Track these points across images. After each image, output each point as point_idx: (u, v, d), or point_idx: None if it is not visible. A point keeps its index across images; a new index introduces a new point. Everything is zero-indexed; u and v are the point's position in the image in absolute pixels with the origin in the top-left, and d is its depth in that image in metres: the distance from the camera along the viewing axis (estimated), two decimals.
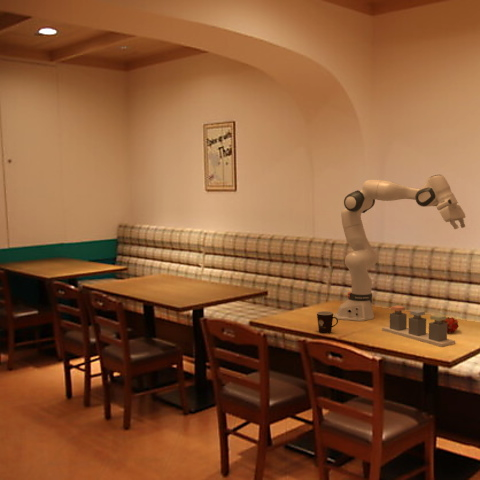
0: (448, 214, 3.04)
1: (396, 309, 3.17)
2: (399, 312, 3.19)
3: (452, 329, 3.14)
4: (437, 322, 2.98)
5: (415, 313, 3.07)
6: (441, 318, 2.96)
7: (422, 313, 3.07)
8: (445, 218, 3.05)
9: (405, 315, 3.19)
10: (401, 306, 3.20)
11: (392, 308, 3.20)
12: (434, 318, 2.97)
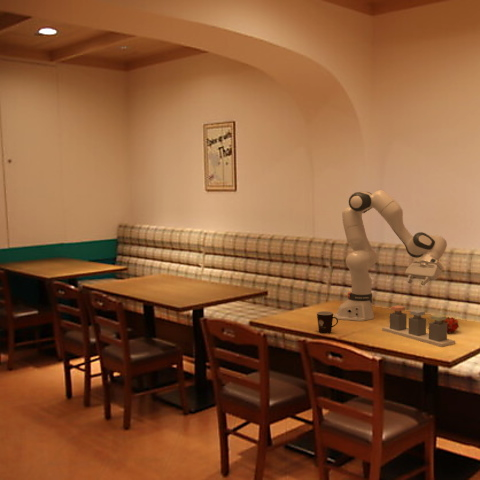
0: (438, 275, 3.18)
1: (396, 309, 3.17)
2: (399, 312, 3.19)
3: (452, 329, 3.14)
4: (437, 322, 2.98)
5: (415, 313, 3.07)
6: (441, 318, 2.96)
7: (422, 313, 3.07)
8: (435, 274, 3.17)
9: (405, 315, 3.19)
10: (401, 306, 3.20)
11: (392, 308, 3.20)
12: (434, 318, 2.97)
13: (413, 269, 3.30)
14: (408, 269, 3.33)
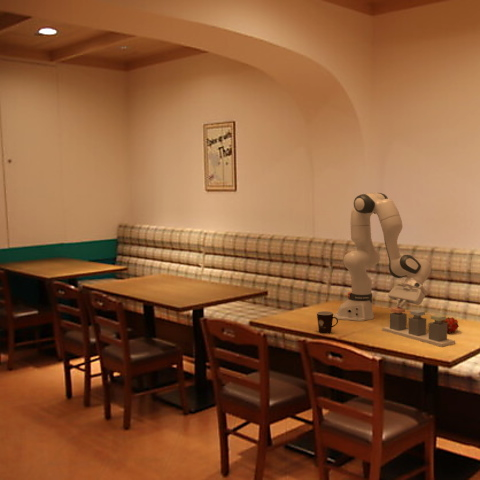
0: (422, 300, 3.14)
1: (396, 311, 3.17)
2: (399, 314, 3.19)
3: (452, 329, 3.14)
4: (437, 322, 2.98)
5: (415, 313, 3.07)
6: (441, 318, 2.96)
7: (422, 313, 3.07)
8: (419, 299, 3.13)
9: (405, 315, 3.19)
10: None
11: (392, 310, 3.20)
12: (434, 318, 2.97)
13: (396, 292, 3.25)
14: (391, 291, 3.28)
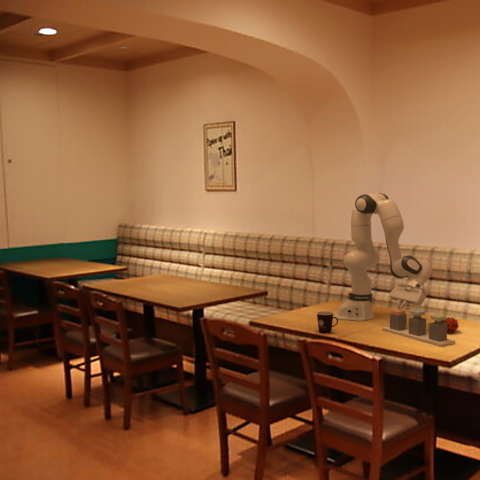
0: (422, 301, 3.15)
1: (396, 313, 3.18)
2: None
3: (452, 329, 3.14)
4: (437, 322, 2.98)
5: (415, 313, 3.07)
6: (441, 318, 2.96)
7: (422, 313, 3.07)
8: (419, 300, 3.13)
9: (405, 315, 3.19)
10: (401, 310, 3.21)
11: (392, 312, 3.20)
12: (434, 318, 2.97)
13: (397, 293, 3.26)
14: (392, 292, 3.29)
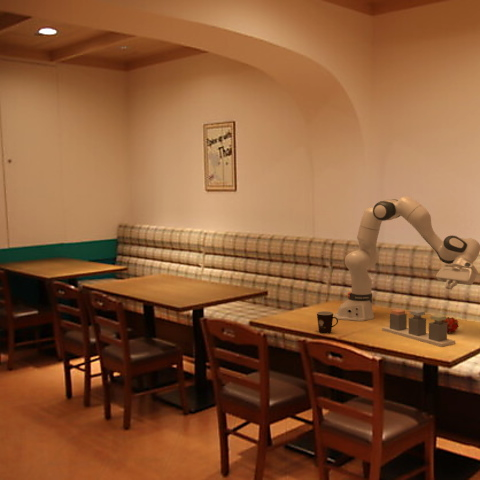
0: (473, 280, 3.01)
1: (396, 313, 3.18)
2: None
3: (452, 329, 3.14)
4: (437, 322, 2.98)
5: (415, 313, 3.07)
6: (441, 318, 2.96)
7: (422, 313, 3.07)
8: (470, 279, 3.00)
9: (405, 315, 3.19)
10: (401, 310, 3.21)
11: (392, 312, 3.20)
12: (434, 318, 2.97)
13: (445, 273, 3.12)
14: (439, 272, 3.15)
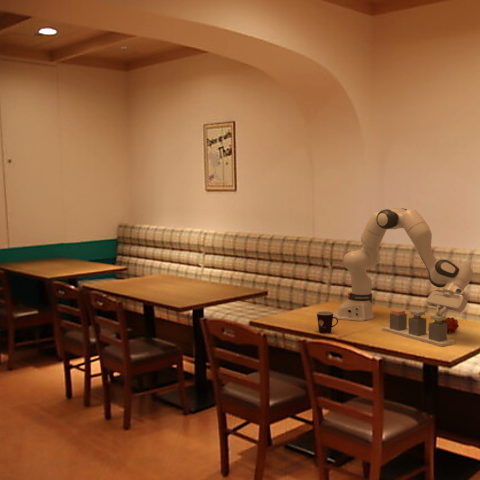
0: (464, 307, 2.93)
1: (396, 313, 3.18)
2: None
3: (452, 329, 3.14)
4: (437, 322, 2.98)
5: (415, 313, 3.07)
6: (441, 318, 2.96)
7: (422, 313, 3.07)
8: (461, 306, 2.92)
9: (405, 315, 3.19)
10: (401, 310, 3.21)
11: (392, 312, 3.20)
12: (434, 318, 2.97)
13: (435, 298, 3.04)
14: (430, 297, 3.07)
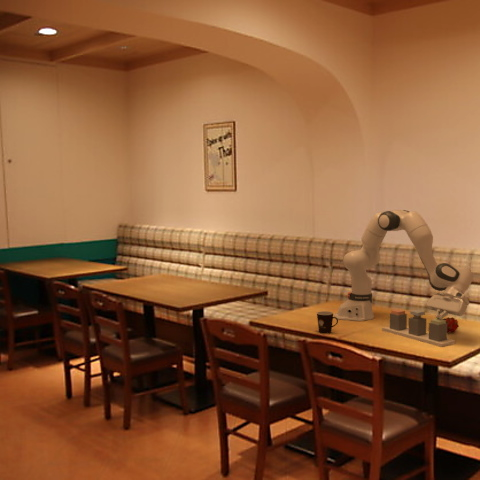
0: (464, 311, 2.93)
1: (396, 313, 3.18)
2: None
3: (452, 329, 3.14)
4: None
5: (415, 313, 3.07)
6: (441, 322, 2.96)
7: (422, 313, 3.07)
8: (461, 310, 2.92)
9: (405, 315, 3.19)
10: (401, 310, 3.21)
11: (392, 312, 3.20)
12: (434, 322, 2.97)
13: (436, 302, 3.04)
14: (430, 301, 3.07)
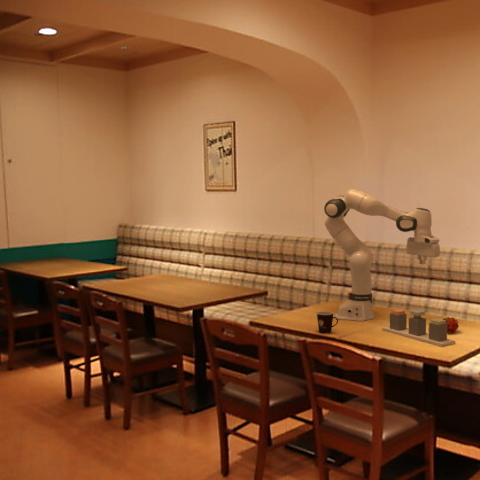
0: (439, 251, 3.23)
1: (396, 313, 3.18)
2: None
3: (452, 329, 3.14)
4: None
5: (415, 313, 3.07)
6: (441, 322, 2.96)
7: (422, 313, 3.07)
8: (436, 254, 3.22)
9: (405, 315, 3.19)
10: (401, 310, 3.21)
11: (392, 312, 3.20)
12: (434, 322, 2.97)
13: (412, 249, 3.34)
14: (407, 249, 3.36)
